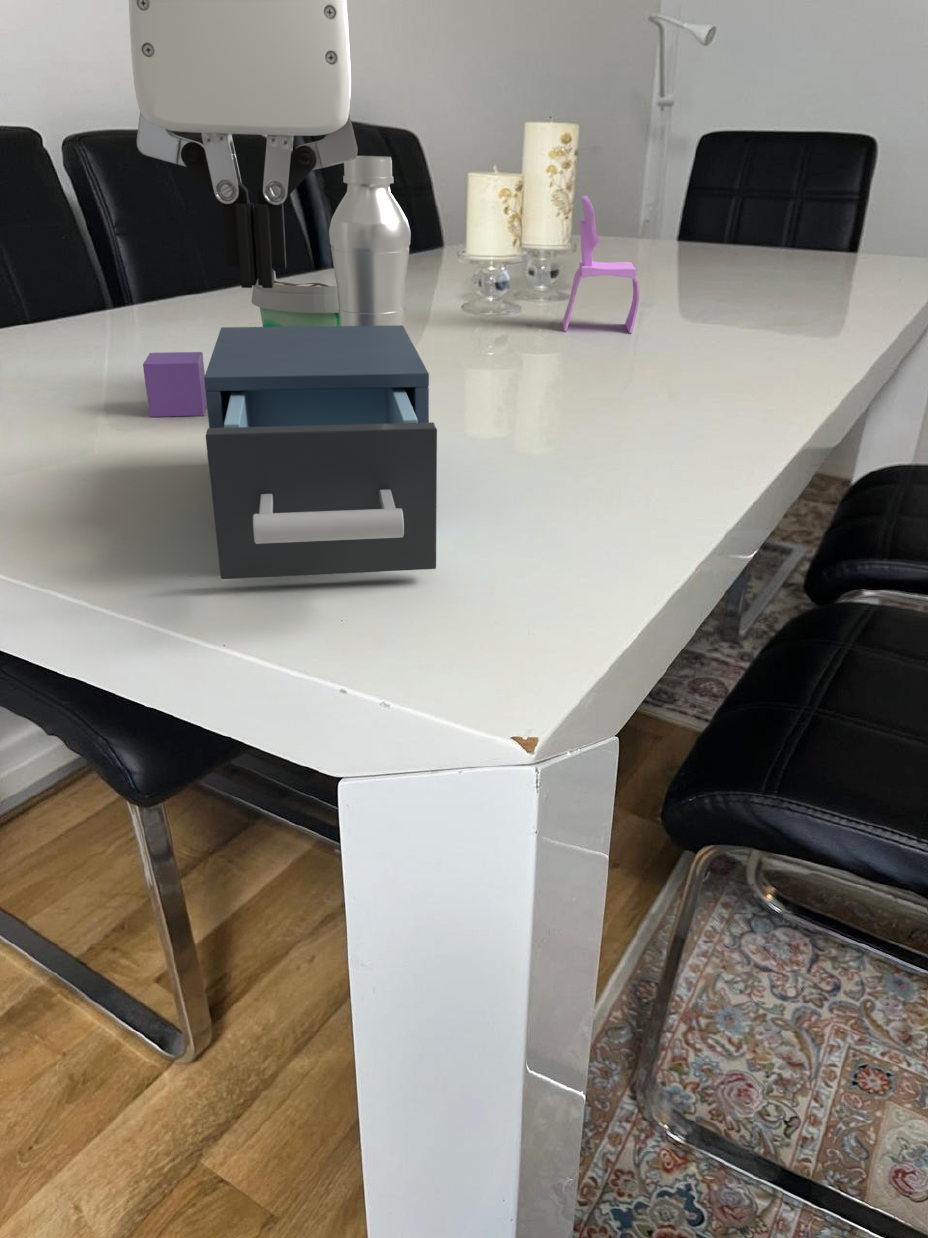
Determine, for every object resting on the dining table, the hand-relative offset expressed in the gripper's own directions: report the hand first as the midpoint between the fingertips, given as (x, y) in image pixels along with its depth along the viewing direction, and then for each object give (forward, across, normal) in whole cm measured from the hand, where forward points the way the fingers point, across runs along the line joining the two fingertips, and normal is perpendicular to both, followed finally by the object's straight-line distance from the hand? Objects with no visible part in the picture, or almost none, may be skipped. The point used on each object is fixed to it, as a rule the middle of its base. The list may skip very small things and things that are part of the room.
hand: (258, 283), depth 51 cm
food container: (+15, -1, -34) cm, 37 cm away
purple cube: (+15, +9, -30) cm, 35 cm away
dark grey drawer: (+14, -3, +3) cm, 14 cm away
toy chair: (+15, -37, -65) cm, 76 cm away
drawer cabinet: (+15, -3, -8) cm, 17 cm away
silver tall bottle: (+15, -7, -26) cm, 31 cm away
